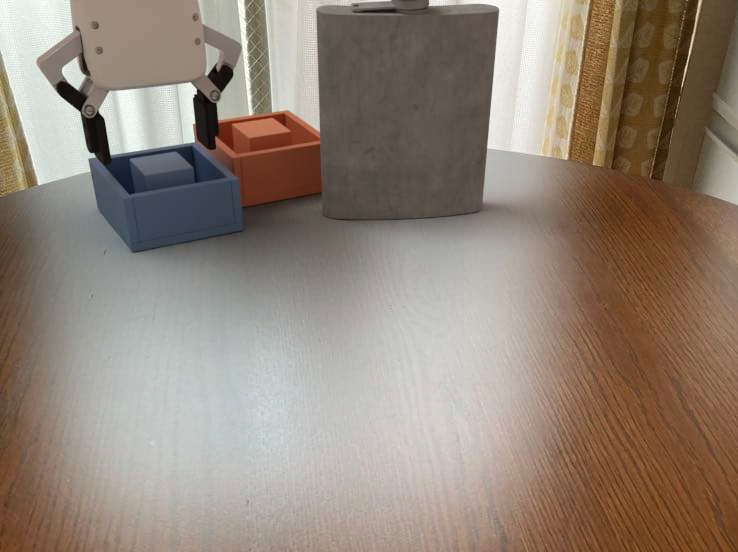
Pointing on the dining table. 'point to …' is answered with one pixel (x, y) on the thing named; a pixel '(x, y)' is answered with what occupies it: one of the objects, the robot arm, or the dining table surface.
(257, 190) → the terracotta bin
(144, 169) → the blue block
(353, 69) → the hip flask
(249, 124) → the terracotta block
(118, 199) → the blue bin
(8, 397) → the dining table surface
